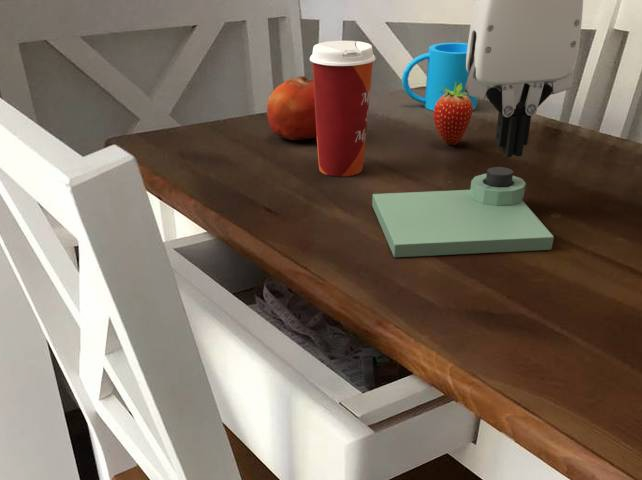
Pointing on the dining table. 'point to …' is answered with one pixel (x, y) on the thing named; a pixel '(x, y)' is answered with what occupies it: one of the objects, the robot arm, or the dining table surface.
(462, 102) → the fruit
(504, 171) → the button
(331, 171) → the paper cup
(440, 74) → the mug
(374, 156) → the dining table surface
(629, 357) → the dining table surface
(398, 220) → the scale
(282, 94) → the tomato
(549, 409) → the dining table surface
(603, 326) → the dining table surface
